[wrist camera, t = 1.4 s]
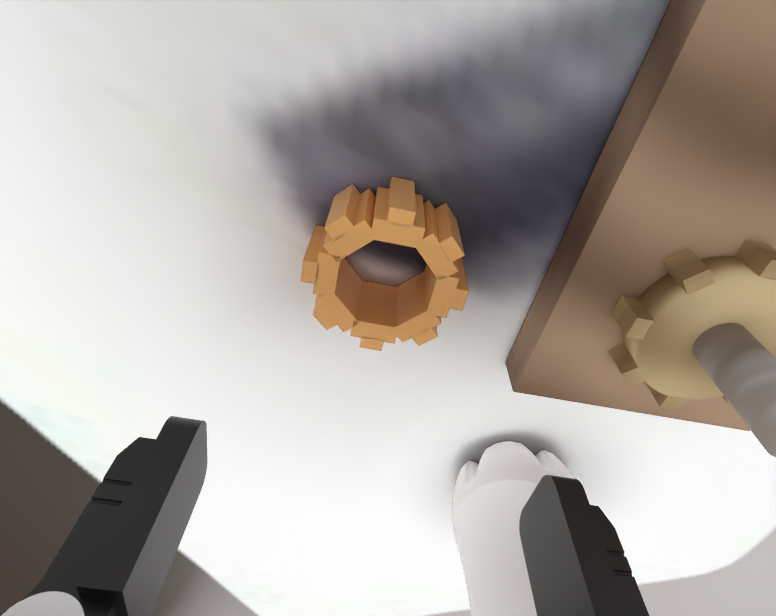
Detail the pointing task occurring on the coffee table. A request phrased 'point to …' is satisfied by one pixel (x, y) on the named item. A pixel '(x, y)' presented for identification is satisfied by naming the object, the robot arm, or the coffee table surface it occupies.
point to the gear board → (674, 238)
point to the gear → (377, 301)
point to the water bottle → (498, 525)
